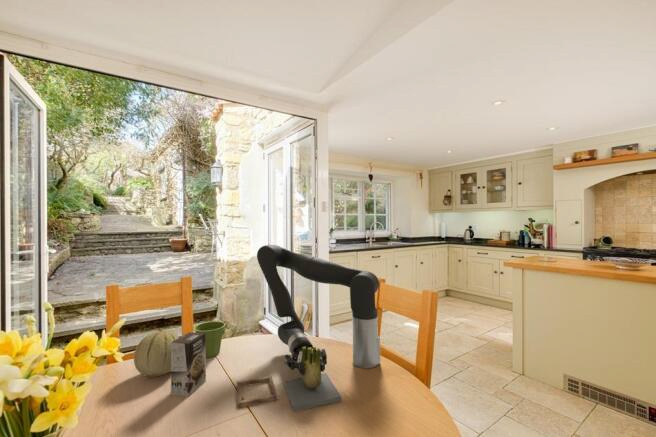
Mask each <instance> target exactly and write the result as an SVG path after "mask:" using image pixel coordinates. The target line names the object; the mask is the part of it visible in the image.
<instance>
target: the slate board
mask: <svg viewBox="0 0 656 437" xmlns="http://www.w3.org/2000/svg"><path fill="white" fill-rule="evenodd" d="M284 387H285V389H286V393H287V395H288V399H289V401H290V404H291V407H292V410H293V412H298V411H302V410H307V409H312V408H316V407H321V406H326V405H329V404H330V405H331V404H334V403H339V402H342V396H341V394H340V392H339V391H338V389H337V388H336V386H335V384H334V383H333V381H332V380H331V378H330V377H329V375H328V374H327V372H325V373H321V383H320V385H319V386H318V387H316V388H315V389H309V388H307V387H306V386H305V385H304V382H303V379H302V377H297V378H292V379H291V378H290V379H286V380H284Z"/></svg>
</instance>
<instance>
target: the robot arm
mask: <svg viewBox="0 0 656 437" xmlns="http://www.w3.org/2000/svg"><path fill="white" fill-rule="evenodd" d="M256 259H257V262H258V266H259V267H260V270H261V272H262V274H263V276H264V278H265V281H266V283H267V285H268V288H269V290H270V293H271V297H272V299H273V302H274V307H275V310H276V313H277V316H278V318H290V319H291V320H289V321H287V322H284V323H281V324H280V325H279V326H278V328H277V336H278V339H279V340H280V341H281V342H282V343H283V344H285V345H287V347H288V349H289V350H288V351H289V352H290V354H291V355H289V354H285V355H284V364H285V365H286V366H287V368H289V370H291V371H295V369H296V371H298V373H299V374H300V375H301V376H302V375H305V367H304V366H303V364H302V347H306V352H307V349H308V348H309V347H311V348H312V353H313V347H314V345H313V344H312V343H311V341H310V339H309V338H308V336H306V335H305V325H304V324H303V322H302V321H301V319H300V318H299V316H298V314H297V312H296V310H295V307H294V304H293V301H292V296H291V293H290V291H289V289H288V288H287V287H286V285H285V284H284V282H283V280H282V278H281V276H280V274H279V271H278V269H277V267H280V268H285V269H288V270H292V271H294V272H295V273H296V274H298V275H299V276H301V277H303V278H305V279H307V280H309V281H312V282H315V283H320V284H327V285H340V286H344V287H347V288H349V299H350V300H349V301H350V302H349V303H350V309H351V312H352V314H351V315H352V316H351V317H352V363H353V365H354V366H356V367H358V368H361V369H373V368H375V367H377V366H378V365H381V339H380V336H379V334H378V332H379V330H378V321H379V320H378V308H377V307H376V292H378V290H379V288H380V280H379V278H378V277H377V275H375V273H373V272H370V271H368V270H364V269H363V270H362V269H355V268H351V267H347V266H343V265H340V264H339V263H335V262H333V261H332V262H331V261H329V260H326V259H322V258H319V257H316V256H311V255H307V254H303V253H297V252H295V251H292V250H289V249H286V248H284V247H282V246H280V245H276V244H268V245H262V246H261V247H259V249H257V253H256ZM316 351H317V349H316ZM326 352H327V351H326V349H325V348H322V349H321V352H320V368H321V373H323V372H324V371H325V370H326V365H327V364H328V362H327V358H328V356H327V353H326ZM311 361H312V354H311Z"/></svg>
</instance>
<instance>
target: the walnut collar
mask: <svg viewBox="0 0 656 437" xmlns="http://www.w3.org/2000/svg"><path fill="white" fill-rule="evenodd" d="M263 383H269V386H270V391H271V394H270V395H269V394H268V395H265V396H260V397H255V398H250V399H244V400H242V399H243V396H242V387H246V386H251V385H258V384H263ZM236 389H237V390H236V391H237V406H238V408H243V407H248V406H254V405H258V404H264V403H269V402H275V401H277V400H278V393H277V390H276V387H275V383H274V380H273V377H272V375H268V376H264V377H257V378H252V379H245V380H241V381H240V380H239V381H237V382H236Z"/></svg>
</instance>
